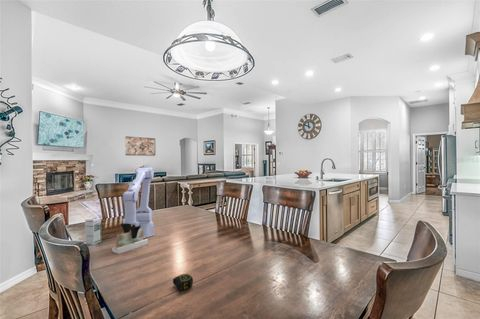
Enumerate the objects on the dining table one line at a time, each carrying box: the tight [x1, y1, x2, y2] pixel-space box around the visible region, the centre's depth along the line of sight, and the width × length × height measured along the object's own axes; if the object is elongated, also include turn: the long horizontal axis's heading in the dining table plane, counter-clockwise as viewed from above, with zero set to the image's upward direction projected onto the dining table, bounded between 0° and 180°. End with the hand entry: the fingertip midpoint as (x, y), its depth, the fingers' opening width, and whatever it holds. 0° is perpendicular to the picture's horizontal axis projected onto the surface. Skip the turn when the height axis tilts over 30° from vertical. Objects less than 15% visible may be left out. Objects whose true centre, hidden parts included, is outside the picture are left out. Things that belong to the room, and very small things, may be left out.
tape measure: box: [172, 273, 194, 292], centre depth 91 cm, size 7×7×4 cm
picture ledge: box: [111, 238, 149, 255], centre depth 131 cm, size 17×7×4 cm, turn 143°
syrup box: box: [84, 216, 102, 246], centre depth 139 cm, size 6×6×14 cm
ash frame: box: [116, 229, 144, 248], centre depth 131 cm, size 14×3×8 cm, turn 143°
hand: (130, 237), depth 131 cm, fingers open, 7 cm apart
